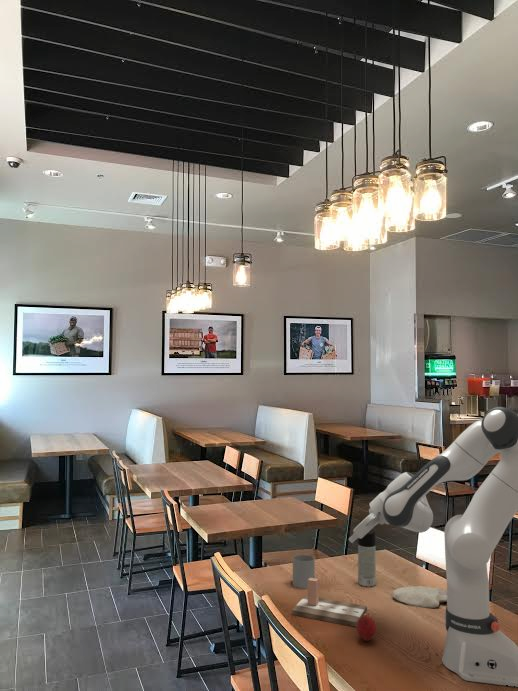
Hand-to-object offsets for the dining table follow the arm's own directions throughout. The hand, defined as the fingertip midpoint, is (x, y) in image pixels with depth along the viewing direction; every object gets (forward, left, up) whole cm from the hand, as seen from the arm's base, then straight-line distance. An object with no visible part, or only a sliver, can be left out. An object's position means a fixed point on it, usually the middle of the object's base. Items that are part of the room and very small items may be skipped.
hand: (354, 537), depth 184 cm
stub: (+14, +1, -24) cm, 28 cm away
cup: (+25, -20, -26) cm, 41 cm away
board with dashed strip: (+8, +1, -26) cm, 27 cm away
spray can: (+3, -31, -26) cm, 41 cm away
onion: (-8, +16, -26) cm, 31 cm away
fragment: (-18, -23, -26) cm, 40 cm away
